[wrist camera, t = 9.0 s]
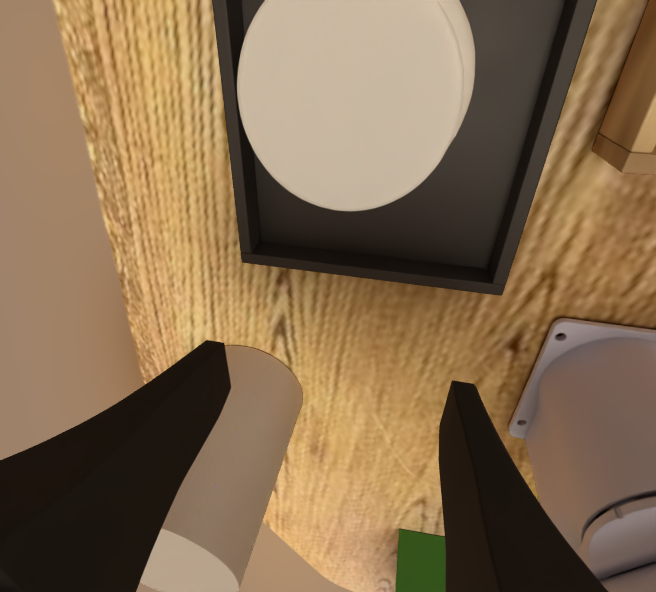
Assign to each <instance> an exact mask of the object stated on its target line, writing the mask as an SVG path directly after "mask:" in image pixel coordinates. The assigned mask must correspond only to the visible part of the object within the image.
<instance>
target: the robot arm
mask: <svg viewBox="0 0 656 592" xmlns="http://www.w3.org/2000/svg"><path fill="white" fill-rule="evenodd" d="M559 333H564V334H563V335H561V336H556V335H557V334H559ZM230 390H231V381H230V375H229V369H228V363H227V357H226V351H225V345H224V343H221V342H215V341H209V340H206V341H205V342H204V343H202V344H201V345H199V346H198V347H197V348H195V349H194V350H193V351H191V352H190V353H189V354H187V355H186V356H185V357H183V358H182V359H181V360H179V361H178V362H177V363H175V364H174V365H172V366H171V367H170V368H168V369H167V370H166V371H164V372H163V373H161V374H160V375H159V376H157V377H156V378H154V379H153V380H152V381H150V382H149V383H147V384H146V385H144V386H143V387H141V388H140V389H138V390H137V391H135V392H134V393H132V394H131V395H129V396H127V397H126V398H125V399H123V400H121V401H120V402H118V403H117V404H115V405H113V406H112V407H110V408H108V409H107V410H105V411H103V412H101V413H99V414H98V415H96V416H94V417H92V418H90V419H89V420H87V421H85V422H83V423H81V424H79V425H77V426H75V427H73V428H71V429H69V430H67V431H65V432H63V433H61V434H59V435H57V436H55V437H53V438H51V439H49V440H47V441H45V442H42V443H40V444H38V445H36V446H33V447H31V448H29V449H27V450H25V451H22V452H20V453H17V454H15V455H12V456H10V457H8V458H5V459H3V460H0V592H136V590H137V588H138V585H139V582H140V580H141V577H142V575H143V572H144V570H145V567H146V565H147V562H148V560H149V557H150V554H151V552H152V550H153V547H154V545H155V542H156V540H157V538H158V535H159V533H160V531H161V528H162V526H163V524H164V521H165V519H166V517H167V514H168V512H169V510H170V508H171V506H172V503H173V501H174V499H175V497H176V494H177V492H178V490H179V488H180V486H181V484H182V482H183V480H184V478H185V477H186V475H187V473H188V471H189V469H190V468H191V466H192V464H193V462H194V461H195V459H196V457H197V455H198V454H199V452H200V450H201V448H202V447H203V445H204V443H205V441H206V440H207V438H208V436H209V434H210V433H211V431H212V429H213V427H214V425H215V424H216V422H217V420H218V418H219V416H220V414H221V412H222V410H223V407H224V405H225V403H226V400H227V397H228V395H229V392H230ZM519 420H522V421H519ZM508 431H509V434H510V435H511V436H513V437H516V438H522V439H525V442H526V446H527V450H528V455H529V459H530V463H531V468H532V472H533V476H534V481H535V485H536V489H537V494H538V498H539V502H540V503H539V502H538V500H537V499H536V497H535V496H534V494H533V493H532V491H531V490H530V488H529V487H528V485H527V484H526V482H525V480H524V479H523V477H522V475H521V474H520V472H519V470H518V469H517V467H516V466H515V464H514V462H513V460H512V459H511V457H510V455H509V453H508V452H507V450H506V448H505V446H504V444H503V442H502V441H501V439H500V437H499V435H498V433H497V431H496V429H495V427H494V425H493V423H492V421H491V419H490V417H489V415H488V413H487V411H486V409H485V406H484V404H483V402H482V400H481V397H480V395H479V393H478V390H477V388H476V386H475V385H474V384H471V383H465V382H459V381H452V382H451V386H450V390H449V393H448V397H447V401H446V404H445V408H444V411H443V415H442V419H441V422H440V429H439V470H440V482H441V494H442V506H443V517H444V529H445V546H446V592H656V330H651V329H643V328H636V327H628V326H621V325H613V324H606V323H598V322H591V321H583V320H576V319H568V318H561V319H557V320H556V321H554V323H553V324H552V326H551V328H550V331H549V333H548V335H547V338H546V340H545V342H544V345H543V347H542V349H541V352H540V354H539V356H538V359H537V361H536V363H535V366H534V368H533V370H532V373H531V375H530V377H529V380H528V382H527V384H526V387H525V389H524V391H523V394H522V396H521V399H520V401H519V403H518V406H517V408H516V410H515V413H514V415H513V417H512V420H511V422H510V424H509V427H508Z"/></svg>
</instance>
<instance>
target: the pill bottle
mask: <svg viewBox="0 0 656 592" xmlns="http://www.w3.org/2000/svg"><path fill="white" fill-rule="evenodd" d="M474 79H475V46H474V40H473V35H472V31H471V27H470V24H469V21H468V18H467V16H466V14H465V11H464V9H463V7H462V5H461V3H460V1H459V0H265V1H264V2H263V4H262V5H261V7H260V8H259V10H258V11H257V13H256V15H255V16H254V18H253V20H252V22H251V24H250V26H249V28H248V31H247V33H246V36H245V39H244V42H243V45H242V50H241V54H240V60H239V66H238V75H237V97H238V104H239V110H240V115H241V119H242V123H243V126H244V129H245V132H246V135H247V137H248V140H249V142H250V144H251V146H252V148H253V150H254V152H255V154H256V155H257V157H258V158H259V160H260V161H261V163H262V164H263V166H264V167H265V168H266V170H267V171H268V172H269V173H270V174H271V176H272V177H273V178H274V179H275V180H276V181H277V182H278V183H280V184H281V185H282V186H283V187H284V188H285V189H287V190H288V191H289V192H291V193H292V194H294V195H296V196H297V197H299V198H300V199H302V200H305V201H307V202H309V203H311V204H314V205H317V206H319V207H323V208H327V209H332V210H338V211H361V210H368V209H373V208H377V207H380V206H383V205H386V204H389V203H391V202H393V201H395V200H397V199H399V198H401V197H403V196H404V195H406V194H408V193H409V192H411V191H412V190H413V189H415V188H416V187H417V186H418V185H420V184H421V183H422V182H423V181H424V180H425V179H426V178H427V177H428V176H429V175H430V174H431V172H432V171H433V170H434V169H435V168H436V166H437V165H438V164H439V162H440V161H441V159H442V157H443V156H444V154H445V152H446V150H447V149H448V147H449V145H450V144H451V142H452V141H453V139H454V138H455V136H456V135H457V132H458V130H459V128H460V126H461V124H462V122H463V120H464V117H465V114H466V112H467V109H468V106H469V103H470V100H471V97H472V92H473V85H474Z"/></svg>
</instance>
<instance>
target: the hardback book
mask: <svg viewBox="0 0 656 592" xmlns="http://www.w3.org/2000/svg"><path fill="white" fill-rule="evenodd" d="M395 592H446V546H445V537H441V536H435V535H430V534H424V533H419V532H413V531H408V530H402V529H399V542H398V559H397V575H396V591H395Z"/></svg>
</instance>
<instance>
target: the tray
mask: <svg viewBox="0 0 656 592" xmlns="http://www.w3.org/2000/svg"><path fill="white" fill-rule="evenodd" d="M264 1H265V0H212V4H213V12H214V21H215V30H216V39H217V48H218V56H219V65H220V74H221V83H222V91H223V100H224V109H225V118H226V127H227V135H228V144H229V153H230V162H231V171H232V179H233V188H234V197H235V206H236V215H237V223H238V232H239V241H240V250H241V259H242V262H243V263H251V264H259V265H267V266H274V267H282V268H290V269H298V270H306V271H313V272H321V273H329V274H337V275H345V276H352V277H360V278H368V279H376V280H384V281H391V282H399V283H407V284H415V285H423V286H431V287H438V288H446V289H454V290H462V291H470V292H477V293H485V294H493V295H502V294H503V291H504V288H505V285H506V282H507V279H508V276H509V273H510V269H511V266H512V263H513V260H514V257H515V254H516V251H517V248H518V245H519V241H520V238H521V235H522V232H523V229H524V226H525V223H526V220H527V217H528V214H529V210H530V207H531V204H532V201H533V198H534V195H535V192H536V189H537V186H538V182H539V179H540V176H541V173H542V170H543V167H544V164H545V161H546V158H547V154H548V151H549V148H550V145H551V142H552V139H553V136H554V133H555V130H556V127H557V123H558V120H559V117H560V114H561V111H562V108H563V105H564V102H565V99H566V95H567V92H568V89H569V86H570V83H571V80H572V77H573V74H574V71H575V67H576V64H577V61H578V58H579V55H580V52H581V49H582V46H583V43H584V39H585V36H586V33H587V30H588V27H589V24H590V21H591V18H592V15H593V12H594V8H595V5H596V2H597V0H459V1H460V3H461V5H462V7H463V9H464V11H465V14H466V16H467V18H468V21H469V24H470V27H471V31H472V35H473V40H474V46H475V79H474V85H473V92H472V97H471V100H470V103H469V106H468V109H467V112H466V114H465V117H464V120H463V122H462V124H461V126H460V128H459V130H458V132H457V135H456V136H455V138H454V139H453V141H452V142H451V144H450V145H449V147H448V149H447V150H446V152H445V154H444V156H443V157H442V159H441V161H440V162H439V164H438V165H437V166H436V168H435V169H434V170H433V171H432V172H431V174H430V175H429V176H428V177H427V178H426V179H425V180H424V181H423V182H422V183H421V184H420V185H418V186H417V187H416V188H415V189H413V190H412V191H411V192H409V193H408V194H406V195H404V196H403V197H401V198H399V199H397V200H395V201H393V202H391V203H389V204H386V205H383V206H380V207H377V208H373V209H368V210H361V211H338V210H332V209H327V208H323V207H319V206H317V205H314V204H311V203H309V202H307V201H305V200H302V199H300V198H299V197H297V196H296V195H294V194H292V193H291V192H289V191H288V190H287V189H285V188H284V187H283V186H282V185H281V184H280V183H278V182H277V181H276V180H275V179H274V178H273V177H272V176H271V174H270V173H269V172H268V171H267V170H266V168H265V167H264V166H263V164H262V163H261V161H260V160H259V158H258V157H257V155H256V154H255V152H254V150H253V148H252V146H251V144H250V142H249V140H248V137H247V135H246V132H245V129H244V126H243V123H242V119H241V115H240V110H239V104H238V97H237V75H238V66H239V60H240V54H241V50H242V45H243V42H244V39H245V36H246V33H247V31H248V28H249V26H250V24H251V22H252V20H253V18H254V16H255V15H256V13H257V11H258V10H259V8H260V7H261V5H262V4H263V2H264Z"/></svg>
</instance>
